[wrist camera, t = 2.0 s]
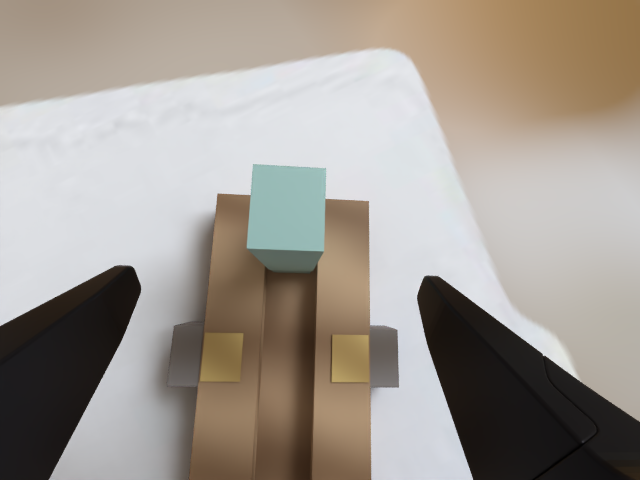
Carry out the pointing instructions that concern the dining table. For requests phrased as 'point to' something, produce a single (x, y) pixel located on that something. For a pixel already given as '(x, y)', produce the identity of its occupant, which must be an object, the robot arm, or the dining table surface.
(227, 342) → the slotted wooden block
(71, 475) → the dining table surface
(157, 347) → the dining table surface
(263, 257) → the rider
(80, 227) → the dining table surface
